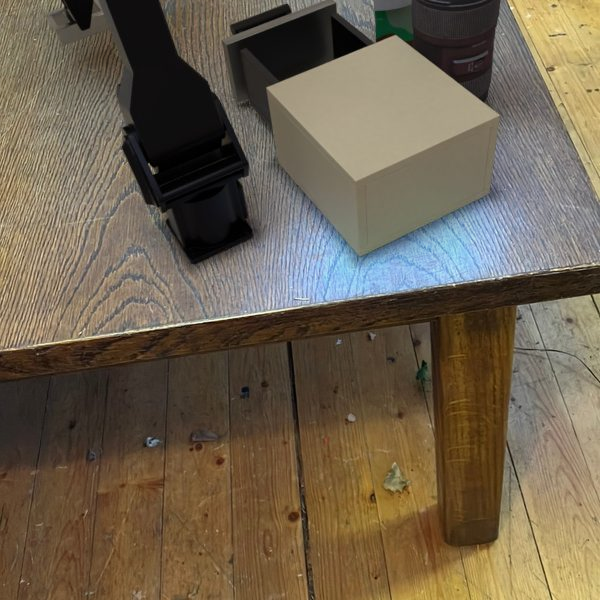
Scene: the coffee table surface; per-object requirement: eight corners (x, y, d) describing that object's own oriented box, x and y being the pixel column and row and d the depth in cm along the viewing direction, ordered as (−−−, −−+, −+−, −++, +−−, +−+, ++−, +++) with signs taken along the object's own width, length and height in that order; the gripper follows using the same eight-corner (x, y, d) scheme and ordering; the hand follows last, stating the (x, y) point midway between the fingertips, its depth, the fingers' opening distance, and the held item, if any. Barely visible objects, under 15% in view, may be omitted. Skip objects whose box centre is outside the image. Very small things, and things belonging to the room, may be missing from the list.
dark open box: (213, 75, 83) (201, 18, 78) (312, 36, 86) (307, -21, 81) (296, 169, 71) (288, 109, 66) (407, 120, 75) (407, 59, 69)
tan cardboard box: (277, 162, 74) (265, 87, 67) (395, 111, 77) (395, 34, 70) (359, 257, 64) (355, 181, 58) (489, 194, 68) (500, 115, 61)
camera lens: (496, 89, 78) (512, -51, 66) (479, 137, 73) (493, -5, 62) (422, 80, 80) (424, -56, 69) (401, 126, 76) (401, -12, 64)
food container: (430, 79, 80) (434, -8, 72) (375, 77, 81) (373, -8, 74) (440, 19, 88) (444, -66, 80) (389, 18, 89) (388, -65, 81)
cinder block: (61, 46, 84) (55, 30, 82) (50, 28, 86) (44, 13, 85) (113, 27, 85) (108, 11, 84) (100, 10, 88) (95, -5, 86)
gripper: (-70, -129, 77) (-7, 10, 89) (-33, -67, 66) (34, 82, 78) (32, -158, 79) (79, -20, 91) (83, -104, 68) (130, 45, 80)
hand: (78, 19), depth 85 cm, fingers closed on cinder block, 5 cm apart
